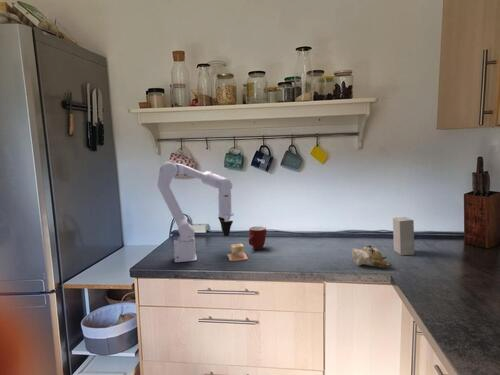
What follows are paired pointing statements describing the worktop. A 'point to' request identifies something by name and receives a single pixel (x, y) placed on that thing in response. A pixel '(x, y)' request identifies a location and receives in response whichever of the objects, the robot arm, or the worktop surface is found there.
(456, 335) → the worktop surface
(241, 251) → the block
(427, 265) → the worktop surface
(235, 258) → the coaster
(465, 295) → the worktop surface
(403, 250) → the skincare box
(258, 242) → the mug
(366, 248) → the ceramic sculpture
